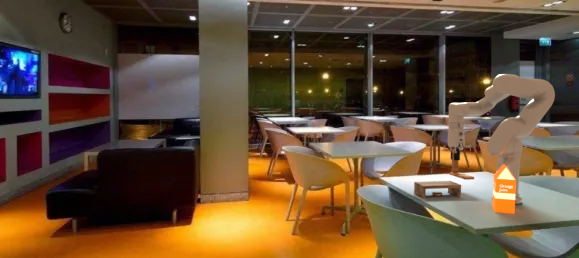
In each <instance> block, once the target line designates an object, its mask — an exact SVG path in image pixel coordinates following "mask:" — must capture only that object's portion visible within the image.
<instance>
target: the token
mask: <svg viewBox="0 0 579 258" xmlns="http://www.w3.org/2000/svg"><path fill="white" fill-rule="evenodd" d="M431 195H432V196H433V197H443V192H441V191H432V192H431Z"/></svg>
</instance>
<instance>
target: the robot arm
mask: <svg viewBox="0 0 579 258" xmlns="http://www.w3.org/2000/svg"><path fill="white" fill-rule="evenodd" d="M509 96H514V97H517V98H521V99H531V100H530V101H529V102H528V103H526V104H525V106H524V107H523V108H522V110H521V111H520V113H519V114H518V115H517V116H515V117H514V116H512V117H507V118H505V119H503V120H502V121H501V122H500V124H498V126H497V128H496V129H495V130H494V132H493V133H492V135H491V136H490V138H489V139H488V141H487V144H486V148H487V152H488V154H489V155H492V156H493V157H497V162H496V172H497V171H498V170H499V169H500V167H501V166H502V165H503V164H504V165H505V166H506V167H507V169H508V170H509V171H510V173H511V174H512V176H513V177H514V178H515V180H516V191H515V205H519V204H522V201H523V198H522V197H520V193H519V190H520V189H519V185H520V167H521V159H522V158H521V157H522V152H523V150H524V149H523V148H524V147H523V142H522V140H521V139H523V138H527V137H529V136H530V135H531V134H532V132H533V131H534V130H535V128H536V127H537V126H538V124H539V123H540V122H541V120H543V118H544V116H545V115H546V113H547V112H548V111H549V110H550V108H552V105H553V104H554V101H555V97H556V93H555V89H554V86H553V85H552V84H551V83H550V82H549V81H547V80H545V79H541V78H540V79H539V78H527V77H521V76H519V75H517V74H512V73H500V74H497V75H496V76H495V77H494V78H493V80H492V85H490V86H488V87H486V89H485V90H484V97H483V98H481V99H480V100H478V101H476V102H473V101H472V102H471V101H469V102H468V101H467V102H451V103H449V105H448V130H447V146H448V148H449V152H450V160H451V161H452V148H455V153H454V160H458V161H460V160H461V151H462V150H464V148H465V147H466V135H465V134H466V133H465V129H464V126H465V125H464V122H465V118H472V117H473V118H474V117H475V118H476V117H481V116H483V115H485V114H486V113H488V112H490V111H491V110H493V108H495V106H496V105H497V104H498V103H500V102H502V101H503V100H504V99H506V98H507V97H509ZM491 201H493V196H492V197H491Z"/></svg>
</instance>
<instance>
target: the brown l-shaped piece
mask: <svg viewBox="0 0 579 258" xmlns="http://www.w3.org/2000/svg"><path fill="white" fill-rule="evenodd" d="M454 153H455V148H452V160H451V171H450V172H449V173H448V174H449V176H450V175H451V176H452V177H456V178H460V179H462V180H469V181H470V180H475V176H473V175H469V174H465V173H462V172H459V160H454Z"/></svg>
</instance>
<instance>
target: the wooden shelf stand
mask: <svg viewBox="0 0 579 258" xmlns="http://www.w3.org/2000/svg"><path fill="white" fill-rule="evenodd" d="M413 185H414V187H413V188H414V190H413V194H414V193H415V194H414V195H416V196H419V197H420V198H422V199H426V195H427V194H426V191H427V190H432V189H433V190H434V189H436V190H437V189H438V190H439V189H440V190H441V189H447V193H449V194H451V195H453V196H455V197H458V198H461V197H462V184H460V183H457V182H455V181H452V180H439V181H438V180H435V181H434V180H433V181H432V180H431V181H414V183H413Z"/></svg>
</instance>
